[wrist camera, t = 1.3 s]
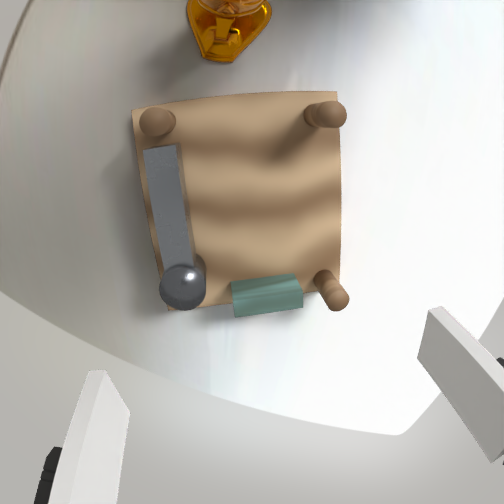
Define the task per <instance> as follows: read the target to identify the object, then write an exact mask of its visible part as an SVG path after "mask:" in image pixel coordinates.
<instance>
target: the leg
mask: <svg viewBox="0 0 504 504" xmlns="http://www.w3.org/2000/svg"><path fill="white" fill-rule="evenodd" d="M143 156H144V163H145V170H146V176H147V183H148V189H149V195H150V200H151V206H152V212H153V217H154V222H155V228H156V233H157V238H158V243H159V248H160V252H161V257H162V262H163V266H164V272H163V275H162V279H161V282H160V286H159V291H160V295H161V297H162V299H163V301H164V302H165V303H166V304H167V305H169V306H170V307H172V308H174V309H177V310H191V309H194V308H196V307H197V306H199V305H200V304H201V303H202V302H203V300H204V298H205V296H206V273H207V268H206V264H205V262H204V260H203V259H202V257H201V256H199V255H198V254H197V253H196V248H195V242H194V236H193V230H192V223H191V217H190V210H189V204H188V197H187V190H186V182H185V175H184V168H183V160H182V152H181V144H180V143H173V144H167V145H161V146H155V147H150V148H148V149H145V150H143Z"/></svg>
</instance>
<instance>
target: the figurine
mask: <svg viewBox="0 0 504 504" xmlns="http://www.w3.org/2000/svg"><path fill="white" fill-rule="evenodd" d="M187 14H188V19H189V22H190V26H191V29H192V31H193V34H194V37H195V39H196V41H197V44H198V46H199V49H200V52H201V55H202V58H204V59H207V60H210V61H215V62H233V61H234V60H235V59H236V58H237V56H238V55H239V54H240V53H241V52H242V51H243V50H244V49H245V48H246V47H247V46H248V45H249V44H250V43H251V42H252V41H253V40H254V39H255V38H256V37H257V36H258V35H259V34H260V33H261V32H262V30H263V29H264V28H265V27H266V25H267V24H268V22H269V20H270V18H271V15H272V9H271V6H270V4H269V3H268V1H267V0H189V1H188V4H187Z"/></svg>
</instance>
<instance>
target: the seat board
mask: <svg viewBox="0 0 504 504" xmlns="http://www.w3.org/2000/svg"><path fill="white" fill-rule="evenodd" d="M131 111H132V120H133V128H134V136H135V144H136V151H137V158H138V165H139V172H140V178H141V184H142V190H143V196H144V202H145V207H146V213H147V218H148V223H149V228H150V233H151V238H152V243H153V247H154V252H155V257H156V261H157V266H158V270H159V274H160V278H161V279H162V275H163V272H164V266H163V262H162V257H161V252H160V248H159V243H158V238H157V233H156V228H155V222H154V217H153V212H152V206H151V200H150V195H149V189H148V183H147V176H146V170H145V163H144V156H143V150H145V149H148V148H150V147H155V146H161V145H167V144H173V143H180V144H181V152H182V160H183V168H184V175H185V182H186V190H187V197H188V204H189V210H190V217H191V223H192V230H193V236H194V242H195V248H196V253H197V254H198V255H199V256H201V257H202V259H203V260H204V262H205V264H206V268H207V273H206V296H205V298H204V300H203V302H202V303H201V304H200V305H199V306H197V307H205V306H213V305H222V304H230V303H233V306H234V313H235V317H242V316H250V315H257V314H264V313H271V312H278V311H284V310H291V309H297V308H303V293H307V292H314V291H319V293H320V294H321V296H322V298H323V299H324V301H325V303H326V304H327V306H328V308H329V309H330V310H331V311H340V310H342V309H344V308H345V307H346V306H347V305H348V303H349V295H348V294H347V293H346V291H345V290H344V288H343V287H342V286H341V284H340V283H339V275H340V250H341V158H340V133H339V127H341V126H342V125H343V124H344V123H345V121H346V117H347V113H346V110H345V108H344V106H343V105H342V104H341V103H339V102H338V100H337V92H334V91H287V92H263V93H247V94H235V95H224V96H215V97H206V98H199V99H191V100H184V101H178V102H171V103H165V104H160V105H154V106H149V107H144V108H139V109H134V110H131ZM167 307H168V310H177V309H174V308H172V307H170V306H169V305H167Z"/></svg>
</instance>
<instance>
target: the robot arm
mask: <svg viewBox="0 0 504 504" xmlns="http://www.w3.org/2000/svg"><path fill="white" fill-rule="evenodd" d="M417 359H418V360H419V361H420V363H421V364H422V365H423V367H424V368H425V369H426V371H427V372H428V373H429V375H430V376H431V377H432V379H433V380H434V381H435V383H436V384H437V386H438V387H439V388H440V390H441V391H442V392H443V394H444V395H445V397H446V398H447V399H448V401H449V402H450V404H451V405H452V406H453V408H454V409H455V410H456V412H457V413H458V415H459V416H460V418H461V419H462V421H463V422H464V423H465V425H466V426H467V428H468V429H469V431H470V432H471V434H472V435H473V437H474V438H475V440H476V441H477V443H478V444H479V446H480V447H481V449H482V450H483V452H484V453H485V455H486V456H487V458H488V459H489V461H490V463H492V462H494V461H495V460H496V459H498V458H499V457H501V456H502V455H503V454H504V359H502V358H498V359H495V358H494V357H493V356H492V355H491V354H490V353H489V352H488V351H487V350H486V349H485V348H484V347H483V346H482V345H481V344H480V343H479V342H478V341H477V340H476V339H475V338H474V337H473V336H472V335H471V334H470V333H469V332H468V331H467V330H466V329H465V328H464V327H463V326H462V325H461V324H460V323H459V322H458V321H457V320H456V319H455V318H454V317H453V316H452V315H451V314H450V313H449V312H448V311H447V310H446V309H445V308H444V307H442V306H440V307H437V308H434V309H431V310H428V315H427V320H426V324H425V329H424V333H423V337H422V341H421V345H420V349H419V353H418V357H417ZM130 414H131V413H130V411H129V410H128V408H127V407H126V405H125V403H124V402H123V400H122V398H121V396H120V395H119V393H118V391H117V390H116V388H115V386H114V384H113V383H112V381H111V379H110V378H109V375H108V374H107V372H106V370H89V372H88V375H87V377H86V380H85V383H84V386H83V388H82V391H81V394H80V396H79V399H78V402H77V405H76V408H75V411H74V414H73V417H72V420H71V423H70V426H69V429H68V432H67V435H66V438H65V442H64V445H63V448H60V447H54V448H53V449H52V450H51V452H50V453H49V454H48V456H47V457H46V461H45V464H44V467H43V469H44V471H42V474H41V480H40V482H39V485H38V489H37V493H36V497H35V501H34V504H117V497H118V496H117V495H118V488H119V480H120V474H121V467H122V460H123V454H124V447H125V441H126V435H127V430H128V424H129V419H130ZM503 465H504V462H503Z"/></svg>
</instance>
